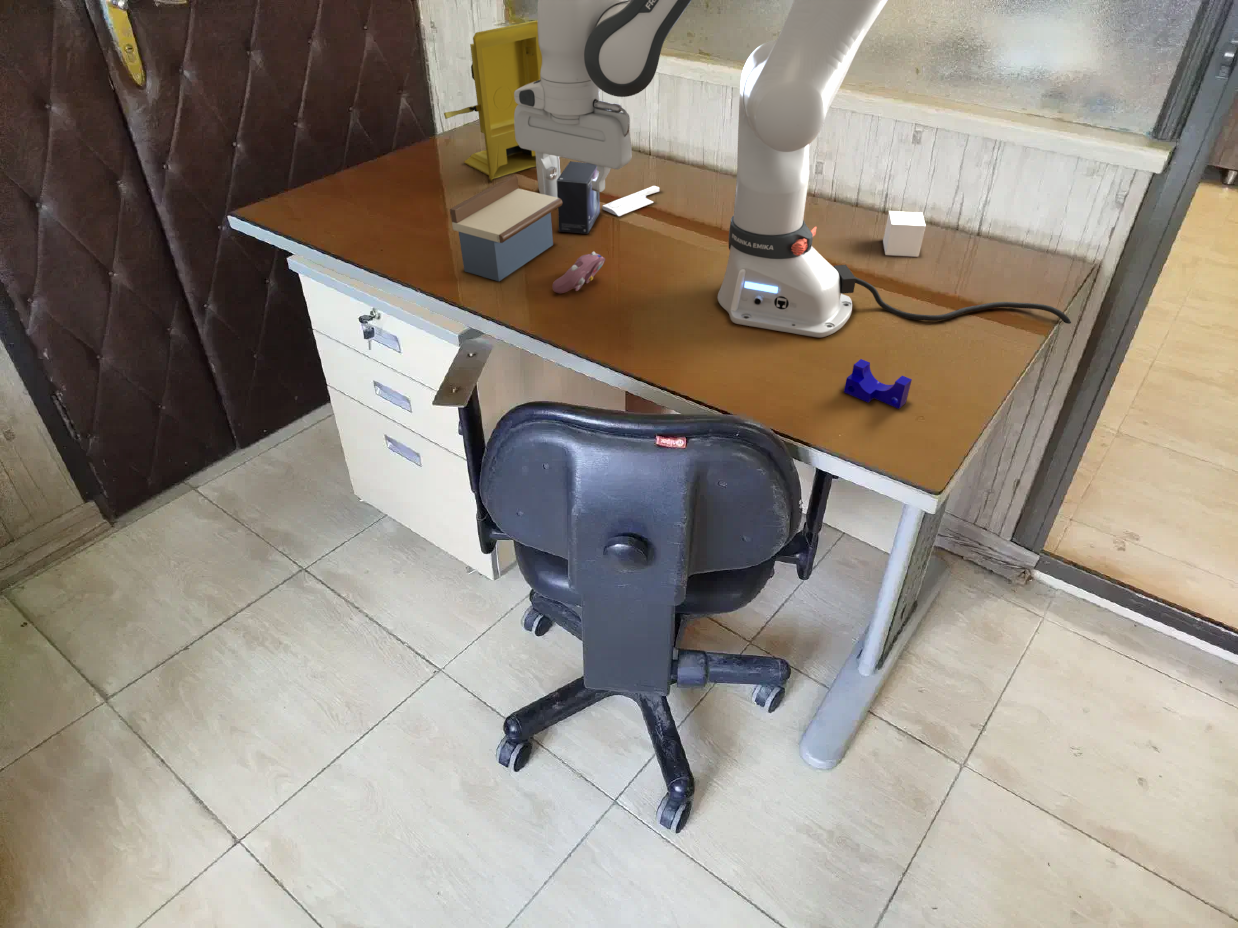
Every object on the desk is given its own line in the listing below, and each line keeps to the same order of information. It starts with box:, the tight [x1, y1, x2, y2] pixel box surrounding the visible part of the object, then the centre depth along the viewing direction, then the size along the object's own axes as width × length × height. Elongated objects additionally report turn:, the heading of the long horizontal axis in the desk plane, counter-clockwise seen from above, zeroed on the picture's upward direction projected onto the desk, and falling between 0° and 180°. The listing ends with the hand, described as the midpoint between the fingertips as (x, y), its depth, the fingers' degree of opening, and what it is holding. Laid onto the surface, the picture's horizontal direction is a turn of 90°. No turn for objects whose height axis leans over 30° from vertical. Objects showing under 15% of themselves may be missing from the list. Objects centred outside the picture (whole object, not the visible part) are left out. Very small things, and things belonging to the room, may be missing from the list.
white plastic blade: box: [601, 185, 660, 217], centre depth 173 cm, size 5×15×1 cm, turn 132°
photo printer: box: [535, 151, 561, 197], centre depth 173 cm, size 10×4×12 cm, turn 13°
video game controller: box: [552, 250, 606, 294], centre depth 144 cm, size 10×5×7 cm, turn 148°
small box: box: [557, 160, 601, 235], centre depth 163 cm, size 11×6×10 cm, turn 168°
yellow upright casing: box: [443, 19, 542, 183], centre depth 183 cm, size 31×14×30 cm, turn 130°
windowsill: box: [449, 174, 563, 282], centre depth 151 cm, size 11×18×12 cm, turn 149°
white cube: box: [882, 210, 927, 258], centre depth 154 cm, size 6×6×6 cm
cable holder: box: [843, 358, 913, 410], centre depth 118 cm, size 8×4×4 cm, turn 48°
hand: (574, 184), depth 135 cm, fingers open, 8 cm apart
